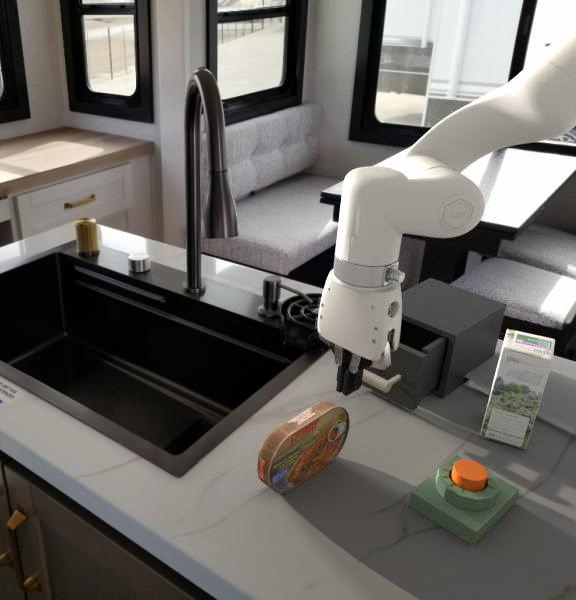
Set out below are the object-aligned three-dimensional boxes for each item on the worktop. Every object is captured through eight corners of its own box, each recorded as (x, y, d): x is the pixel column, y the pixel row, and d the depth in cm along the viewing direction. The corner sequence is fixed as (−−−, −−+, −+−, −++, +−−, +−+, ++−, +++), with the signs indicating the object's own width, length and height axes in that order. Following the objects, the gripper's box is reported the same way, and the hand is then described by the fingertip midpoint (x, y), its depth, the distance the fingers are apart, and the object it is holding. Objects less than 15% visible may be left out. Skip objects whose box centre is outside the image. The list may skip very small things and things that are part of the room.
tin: (269, 506, 75) (273, 450, 72) (250, 491, 78) (253, 436, 74) (348, 451, 84) (355, 399, 80) (329, 439, 86) (335, 388, 82)
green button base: (452, 467, 81) (458, 443, 79) (515, 503, 75) (523, 477, 74) (407, 505, 75) (413, 479, 73) (472, 546, 70) (480, 519, 68)
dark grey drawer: (395, 423, 87) (404, 369, 83) (327, 387, 95) (333, 335, 91) (462, 376, 98) (474, 325, 94) (396, 346, 106) (404, 298, 102)
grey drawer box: (442, 399, 94) (456, 336, 89) (369, 363, 103) (378, 304, 98) (491, 364, 102) (506, 304, 97) (420, 333, 111) (430, 277, 106)
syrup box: (529, 427, 88) (556, 336, 81) (525, 452, 83) (554, 358, 77) (484, 415, 90) (507, 325, 84) (478, 438, 86) (502, 346, 79)
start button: (460, 466, 76) (463, 454, 75) (490, 482, 73) (493, 470, 73) (444, 479, 74) (447, 468, 73) (474, 497, 71) (477, 485, 71)
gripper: (435, 279, 76) (411, 404, 85) (335, 244, 87) (322, 358, 95) (400, 297, 72) (378, 427, 80) (298, 258, 82) (288, 376, 91)
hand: (347, 389), depth 88 cm, fingers closed
